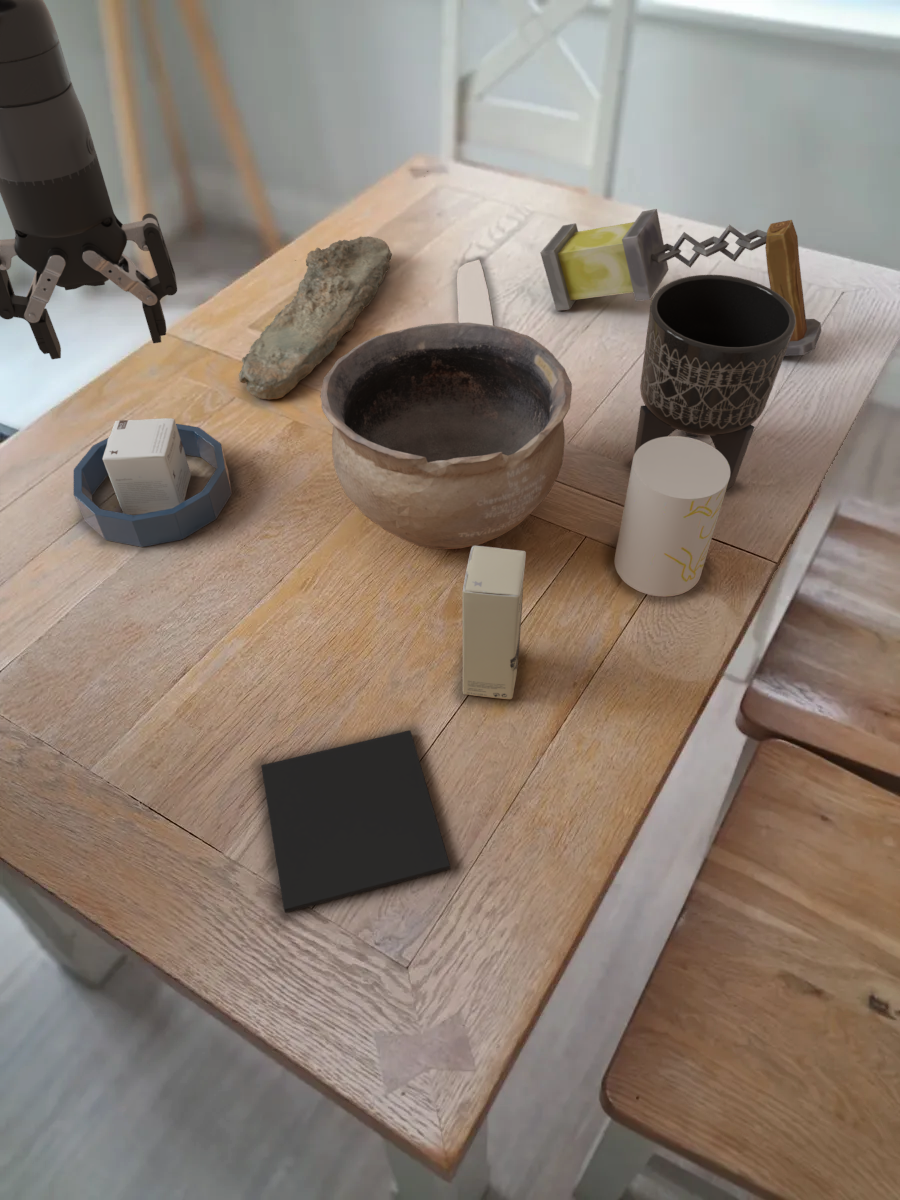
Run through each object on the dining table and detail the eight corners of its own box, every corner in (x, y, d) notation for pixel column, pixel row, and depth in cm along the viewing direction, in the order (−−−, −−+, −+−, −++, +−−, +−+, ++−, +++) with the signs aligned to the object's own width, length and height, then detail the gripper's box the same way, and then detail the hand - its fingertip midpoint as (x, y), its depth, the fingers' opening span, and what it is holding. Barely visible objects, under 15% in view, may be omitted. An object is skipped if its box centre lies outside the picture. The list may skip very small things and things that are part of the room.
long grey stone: (220, 401, 104) (299, 422, 103) (212, 364, 100) (294, 385, 98) (340, 245, 125) (408, 260, 123) (338, 209, 121) (407, 224, 119)
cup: (675, 610, 81) (702, 512, 72) (598, 570, 85) (614, 472, 76) (716, 558, 86) (746, 459, 77) (641, 522, 89) (661, 424, 80)
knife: (493, 256, 123) (458, 252, 123) (496, 401, 100) (454, 396, 100) (491, 265, 124) (457, 260, 124) (494, 411, 101) (452, 406, 101)
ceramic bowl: (378, 615, 81) (365, 490, 70) (311, 470, 94) (291, 345, 83) (597, 549, 86) (617, 422, 75) (504, 420, 100) (509, 296, 89)
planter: (635, 414, 100) (662, 264, 87) (753, 436, 98) (800, 285, 84) (613, 488, 92) (639, 335, 79) (741, 514, 89) (791, 361, 76)
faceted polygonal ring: (84, 558, 86) (73, 532, 83) (83, 462, 95) (73, 436, 93) (238, 529, 89) (231, 502, 86) (222, 439, 98) (216, 412, 95)
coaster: (285, 913, 63) (284, 909, 63) (262, 769, 71) (261, 764, 70) (450, 869, 65) (450, 865, 65) (410, 733, 73) (410, 729, 72)
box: (512, 702, 75) (520, 600, 65) (460, 695, 75) (460, 593, 66) (519, 652, 78) (528, 548, 69) (469, 646, 79) (471, 542, 69)
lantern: (574, 375, 120) (811, 356, 104) (540, 252, 110) (797, 211, 94) (594, 345, 125) (824, 323, 108) (562, 225, 115) (811, 181, 98)
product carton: (183, 513, 90) (165, 456, 85) (122, 516, 90) (100, 459, 84) (192, 474, 94) (175, 416, 89) (133, 476, 94) (113, 419, 88)
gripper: (138, 124, 70) (186, 311, 82) (-56, 146, 68) (23, 336, 80) (143, 164, 65) (193, 357, 77) (-66, 189, 63) (20, 384, 75)
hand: (107, 346), depth 79 cm, fingers open, 8 cm apart
